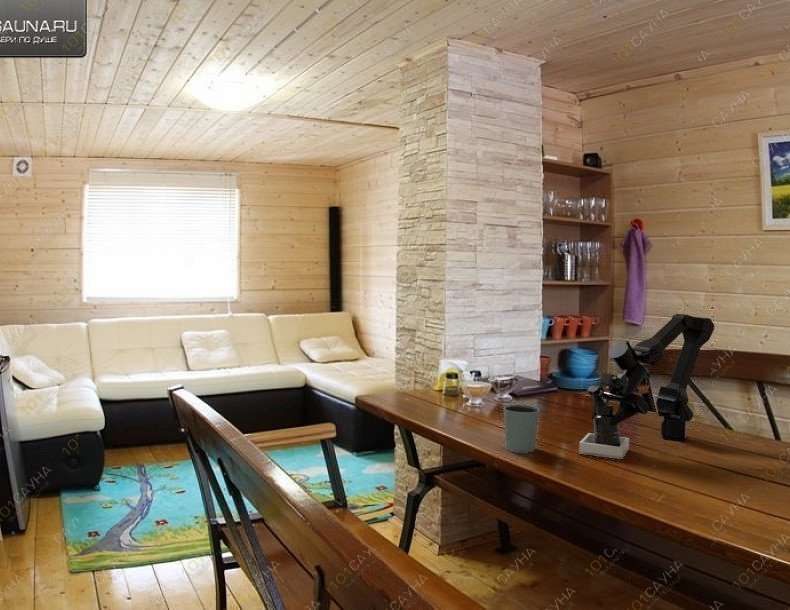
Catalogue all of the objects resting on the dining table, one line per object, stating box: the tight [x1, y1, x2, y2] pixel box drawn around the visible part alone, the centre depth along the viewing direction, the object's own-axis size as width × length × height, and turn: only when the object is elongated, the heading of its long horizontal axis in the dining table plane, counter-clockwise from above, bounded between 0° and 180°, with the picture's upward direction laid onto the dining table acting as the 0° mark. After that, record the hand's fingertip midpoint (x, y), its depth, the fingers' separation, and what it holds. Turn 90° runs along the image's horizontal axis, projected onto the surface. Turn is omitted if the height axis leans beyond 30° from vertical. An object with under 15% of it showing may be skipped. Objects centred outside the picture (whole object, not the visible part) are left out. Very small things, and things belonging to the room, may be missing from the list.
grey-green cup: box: [503, 404, 540, 454], centre depth 194 cm, size 10×10×12 cm
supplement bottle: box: [593, 404, 621, 447], centre depth 191 cm, size 7×7×12 cm
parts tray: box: [578, 432, 630, 460], centre depth 191 cm, size 12×12×4 cm
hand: (601, 422), depth 190 cm, fingers closed on supplement bottle, 6 cm apart
